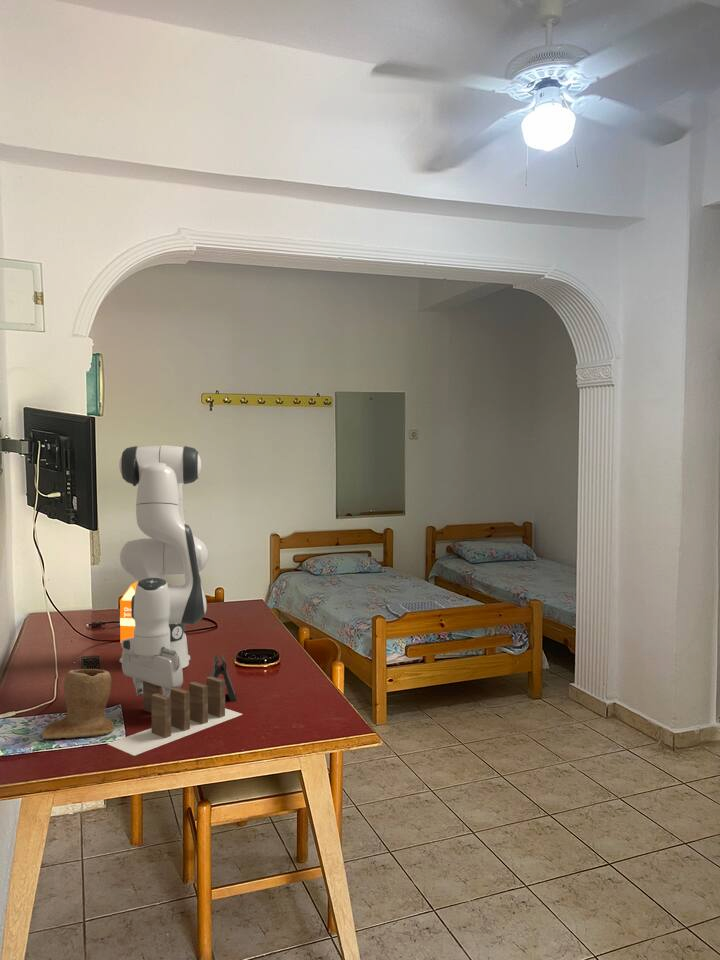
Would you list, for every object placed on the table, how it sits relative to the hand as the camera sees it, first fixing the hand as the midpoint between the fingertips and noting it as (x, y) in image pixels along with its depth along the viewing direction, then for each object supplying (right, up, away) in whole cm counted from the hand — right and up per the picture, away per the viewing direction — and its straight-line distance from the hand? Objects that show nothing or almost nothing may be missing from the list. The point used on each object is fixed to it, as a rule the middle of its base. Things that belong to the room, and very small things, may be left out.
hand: (152, 699), depth 190 cm
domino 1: (0, -4, 0) cm, 4 cm away
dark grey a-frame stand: (+15, -4, +10) cm, 19 cm away
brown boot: (-13, -5, -12) cm, 19 cm away
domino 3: (+9, -4, -10) cm, 14 cm away
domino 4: (+13, -4, -6) cm, 15 cm away
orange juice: (-25, 0, +70) cm, 74 cm away
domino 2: (+6, -4, -14) cm, 16 cm away
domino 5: (+16, -3, -1) cm, 17 cm away
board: (+9, -5, -10) cm, 15 cm away
